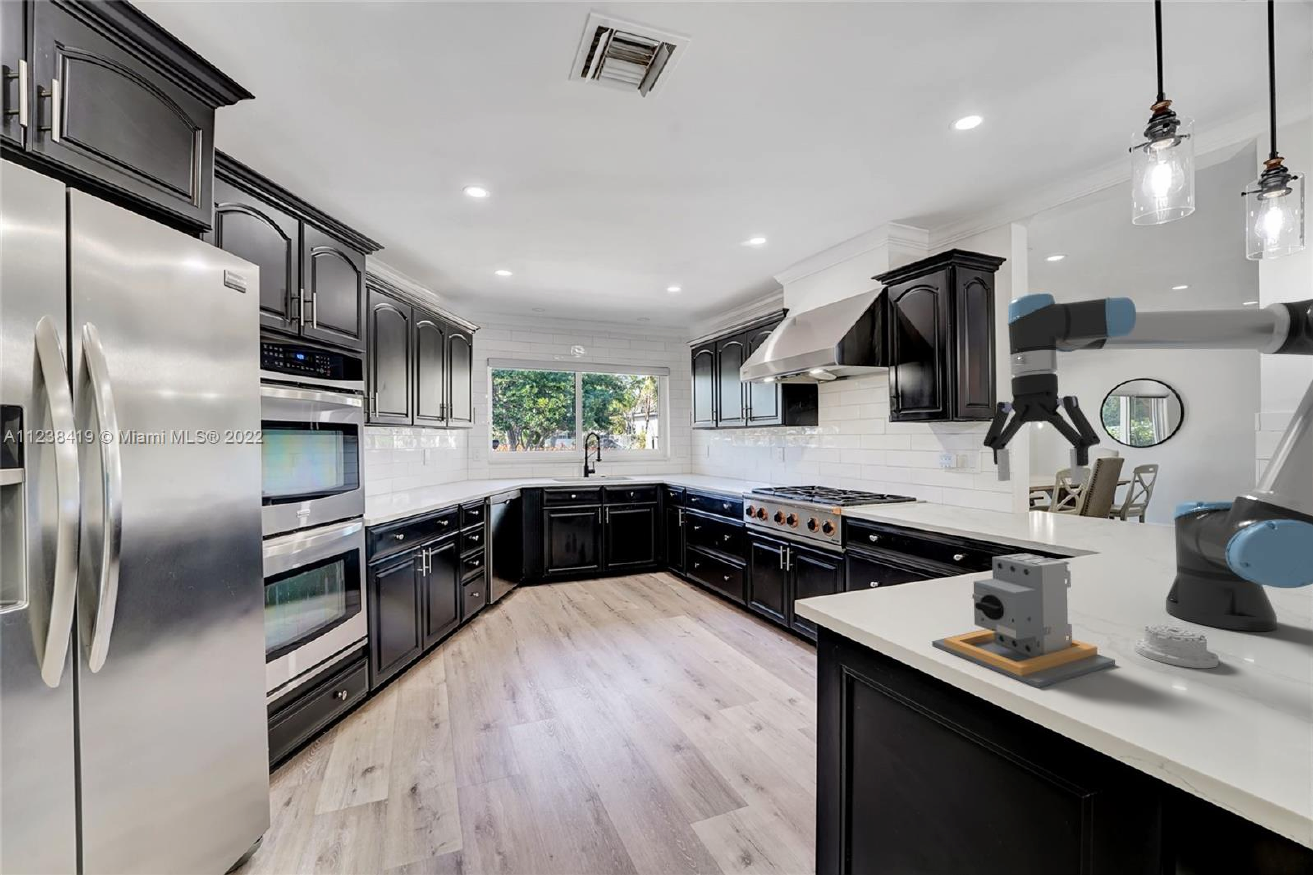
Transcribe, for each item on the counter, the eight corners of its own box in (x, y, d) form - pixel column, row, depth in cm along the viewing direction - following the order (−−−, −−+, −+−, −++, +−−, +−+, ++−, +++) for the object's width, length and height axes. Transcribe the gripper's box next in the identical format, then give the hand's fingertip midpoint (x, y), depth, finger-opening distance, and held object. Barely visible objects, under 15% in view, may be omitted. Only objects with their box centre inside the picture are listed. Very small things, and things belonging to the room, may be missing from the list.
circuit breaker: (967, 648, 92) (965, 560, 92) (1028, 636, 96) (1026, 553, 96) (1008, 665, 85) (1006, 569, 85) (1072, 652, 89) (1070, 561, 89)
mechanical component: (1161, 668, 85) (1236, 672, 83) (1160, 640, 85) (1235, 643, 83) (1120, 644, 95) (1187, 648, 93) (1120, 619, 95) (1186, 622, 93)
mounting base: (1004, 629, 103) (1004, 618, 103) (1115, 664, 86) (1114, 652, 86) (932, 645, 95) (932, 634, 95) (1038, 688, 79) (1038, 674, 79)
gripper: (962, 382, 116) (966, 480, 116) (1096, 364, 94) (1102, 486, 93) (984, 382, 119) (989, 478, 119) (1119, 365, 97) (1125, 483, 96)
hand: (1039, 482), depth 106 cm, fingers open, 13 cm apart
